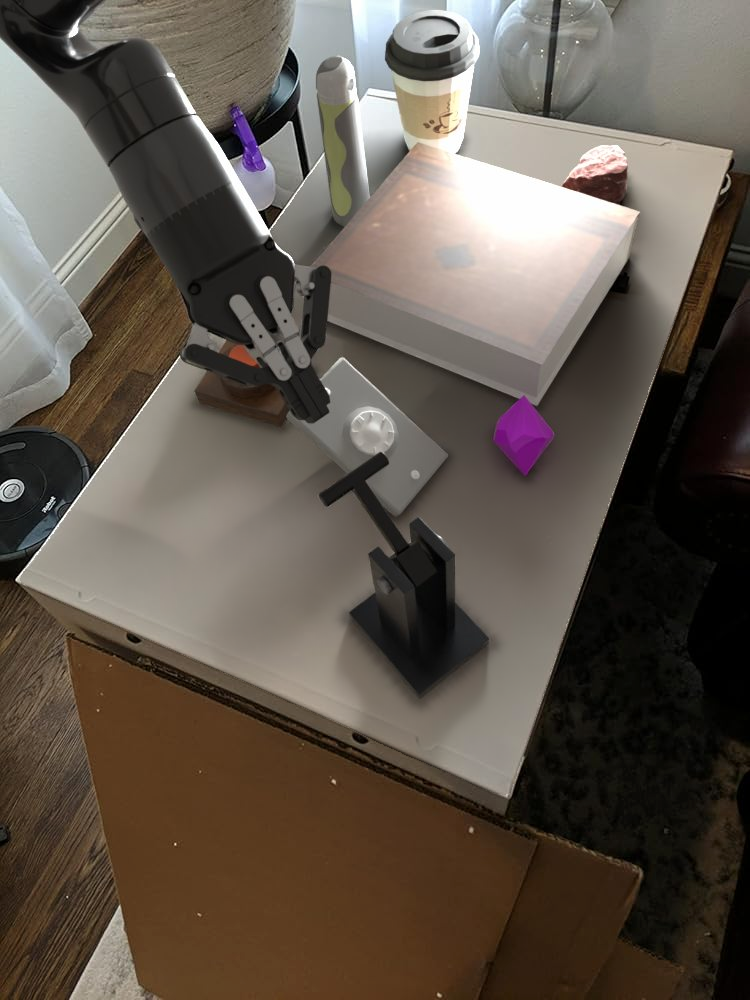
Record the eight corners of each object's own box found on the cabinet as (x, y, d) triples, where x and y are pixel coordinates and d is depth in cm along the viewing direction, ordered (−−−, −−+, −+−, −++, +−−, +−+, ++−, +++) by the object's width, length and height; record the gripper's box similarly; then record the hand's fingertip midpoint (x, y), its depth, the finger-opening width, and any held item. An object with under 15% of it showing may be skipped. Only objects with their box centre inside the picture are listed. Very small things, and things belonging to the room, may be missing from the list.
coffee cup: (414, 183, 109) (409, 71, 96) (376, 134, 115) (367, 23, 102) (493, 153, 111) (498, 39, 98) (452, 106, 116) (452, -6, 104)
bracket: (349, 617, 78) (329, 539, 66) (417, 566, 80) (410, 482, 68) (419, 699, 74) (412, 633, 61) (489, 643, 76) (496, 568, 63)
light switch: (402, 513, 82) (289, 410, 80) (382, 525, 87) (276, 429, 86) (453, 452, 85) (345, 351, 84) (431, 467, 90) (329, 373, 89)
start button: (257, 382, 89) (253, 371, 87) (226, 374, 90) (222, 363, 88) (271, 357, 91) (268, 346, 89) (241, 349, 92) (238, 338, 90)
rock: (622, 190, 109) (559, 177, 110) (637, 141, 104) (572, 128, 105) (618, 230, 102) (551, 216, 102) (635, 179, 97) (565, 165, 98)
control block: (281, 427, 90) (275, 404, 87) (198, 404, 93) (189, 380, 89) (312, 371, 94) (307, 347, 91) (232, 350, 96) (224, 325, 93)
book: (419, 187, 108) (417, 142, 103) (629, 257, 99) (639, 211, 94) (313, 315, 98) (305, 272, 93) (536, 405, 89) (542, 364, 84)
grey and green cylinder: (357, 234, 105) (339, 81, 88) (325, 221, 106) (300, 68, 89) (379, 210, 107) (365, 56, 90) (347, 197, 108) (327, 44, 91)
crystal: (486, 446, 87) (487, 419, 83) (525, 418, 88) (528, 390, 84) (521, 479, 85) (525, 452, 81) (561, 449, 86) (566, 421, 82)
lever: (315, 496, 66) (321, 492, 64) (376, 453, 67) (384, 449, 65) (388, 602, 67) (396, 602, 64) (446, 557, 68) (457, 556, 66)
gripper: (113, 239, 54) (259, 469, 59) (283, 145, 57) (408, 369, 62) (102, 260, 61) (234, 464, 66) (255, 174, 64) (369, 374, 69)
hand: (318, 417), depth 64 cm, fingers closed
